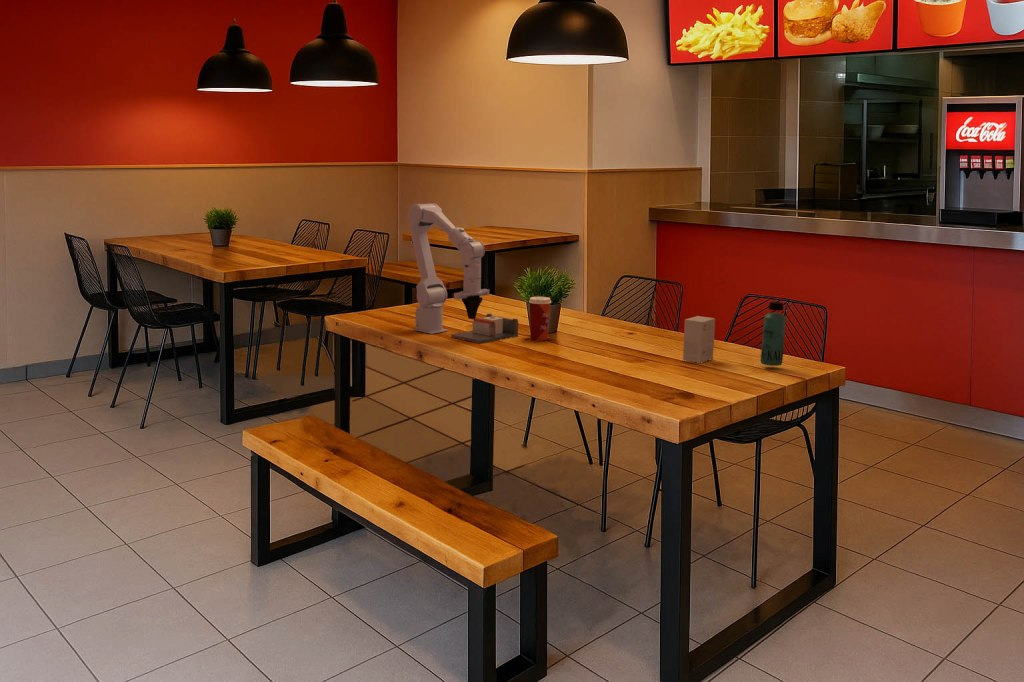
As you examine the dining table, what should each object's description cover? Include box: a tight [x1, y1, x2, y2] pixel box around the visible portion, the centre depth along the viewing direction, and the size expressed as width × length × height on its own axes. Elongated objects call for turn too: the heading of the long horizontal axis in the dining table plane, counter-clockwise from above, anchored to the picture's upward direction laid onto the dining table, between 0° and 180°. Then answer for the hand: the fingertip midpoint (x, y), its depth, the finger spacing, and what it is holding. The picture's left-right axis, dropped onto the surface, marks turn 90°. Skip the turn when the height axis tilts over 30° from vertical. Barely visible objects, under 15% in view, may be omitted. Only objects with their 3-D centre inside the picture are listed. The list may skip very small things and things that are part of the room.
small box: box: [682, 315, 716, 364], centre depth 283 cm, size 8×6×13 cm
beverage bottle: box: [759, 301, 787, 367], centre depth 273 cm, size 6×7×20 cm
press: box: [450, 313, 519, 344], centre depth 313 cm, size 14×18×6 cm
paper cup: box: [528, 296, 552, 342], centre depth 310 cm, size 8×8×14 cm
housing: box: [481, 315, 504, 334], centre depth 316 cm, size 5×5×6 cm
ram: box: [472, 317, 496, 336], centre depth 313 cm, size 9×3×5 cm, turn 47°
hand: (471, 318), depth 308 cm, fingers closed
